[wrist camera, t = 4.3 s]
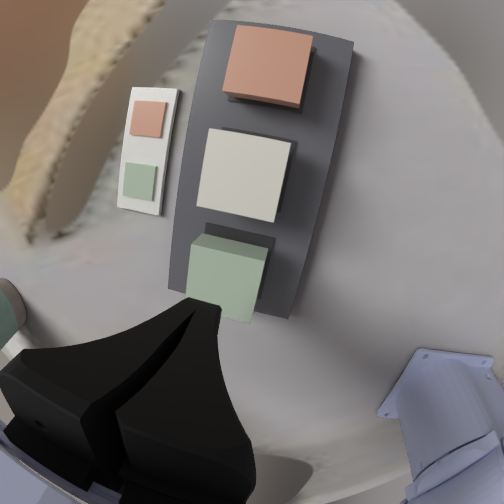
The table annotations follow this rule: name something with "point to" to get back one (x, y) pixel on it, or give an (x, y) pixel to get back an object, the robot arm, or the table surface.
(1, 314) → the coffee cup
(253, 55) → the key terracotta
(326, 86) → the dark grey base plate
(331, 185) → the table surface
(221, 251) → the key sage
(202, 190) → the key ivory
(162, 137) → the card
